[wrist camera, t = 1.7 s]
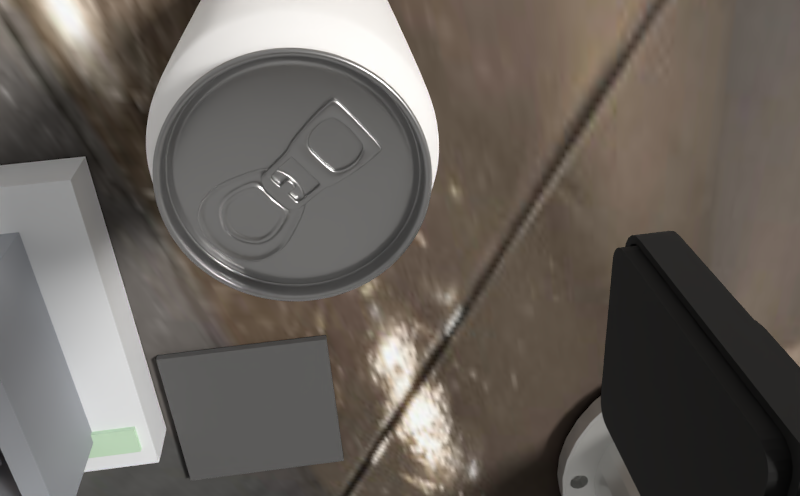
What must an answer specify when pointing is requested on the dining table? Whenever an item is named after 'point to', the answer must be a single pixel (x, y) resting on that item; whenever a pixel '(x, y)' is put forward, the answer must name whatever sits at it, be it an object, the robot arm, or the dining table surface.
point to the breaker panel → (66, 338)
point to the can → (292, 145)
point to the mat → (253, 406)
